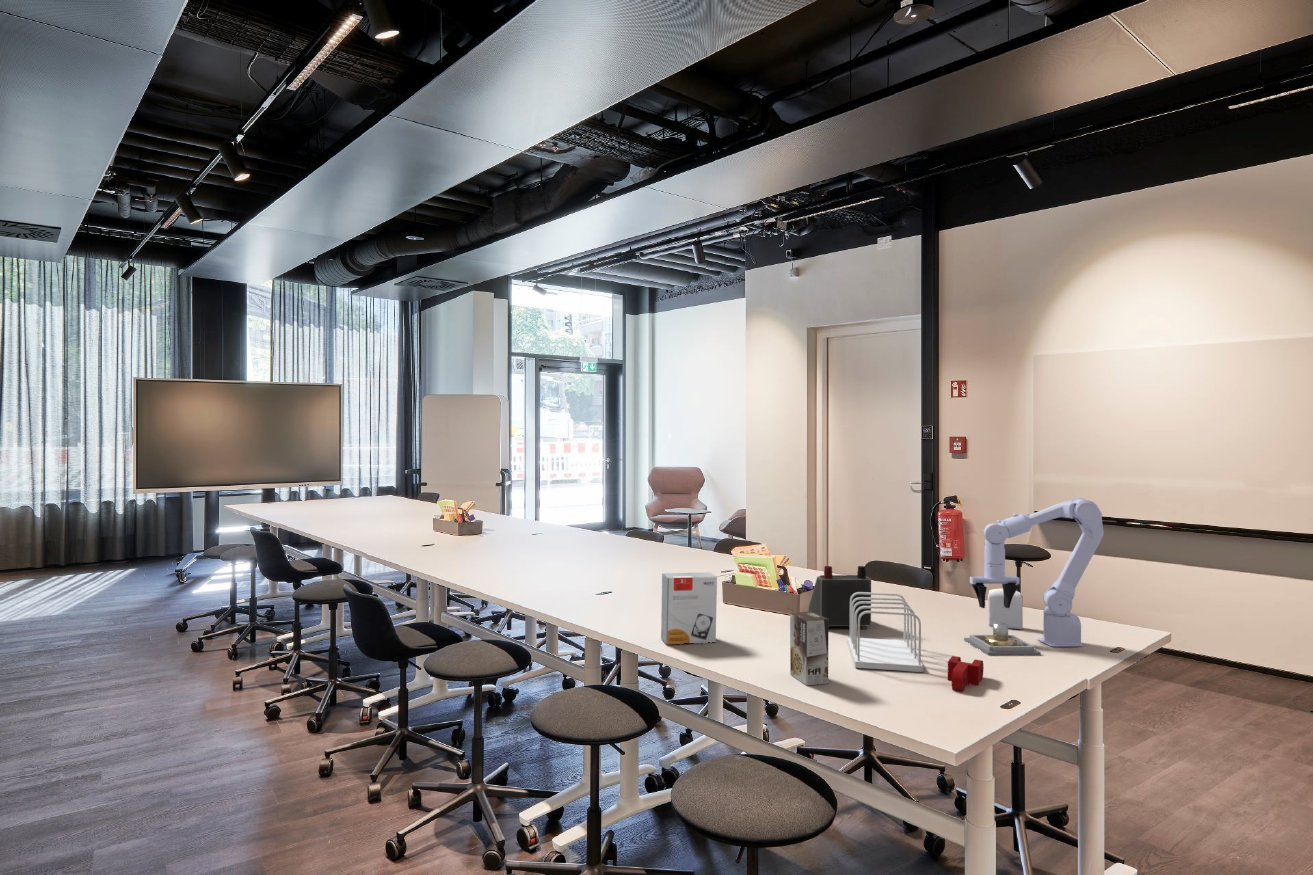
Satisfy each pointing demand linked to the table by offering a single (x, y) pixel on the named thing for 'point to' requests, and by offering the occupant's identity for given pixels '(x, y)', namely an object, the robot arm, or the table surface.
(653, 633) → the table surface
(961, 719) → the table surface
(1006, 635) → the planet gear
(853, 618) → the file sorter
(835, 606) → the voltmeter
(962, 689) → the mechanical linkage
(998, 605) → the photo printer
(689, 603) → the hard drive box
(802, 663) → the coffee box
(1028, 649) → the plate
